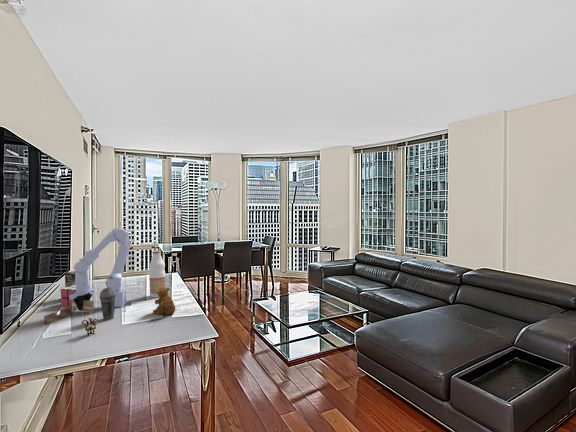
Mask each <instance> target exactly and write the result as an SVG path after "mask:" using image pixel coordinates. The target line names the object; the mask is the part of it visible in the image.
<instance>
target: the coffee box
mask: <svg viewBox="0 0 576 432" xmlns="http://www.w3.org/2000/svg"><path fill="white" fill-rule="evenodd" d="M75 271H76V270H74V271H67V272H65V273H64V284H65V287H64V288H66V287H69V286H73V285H76V283H75V276H76V275H75Z"/></svg>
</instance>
